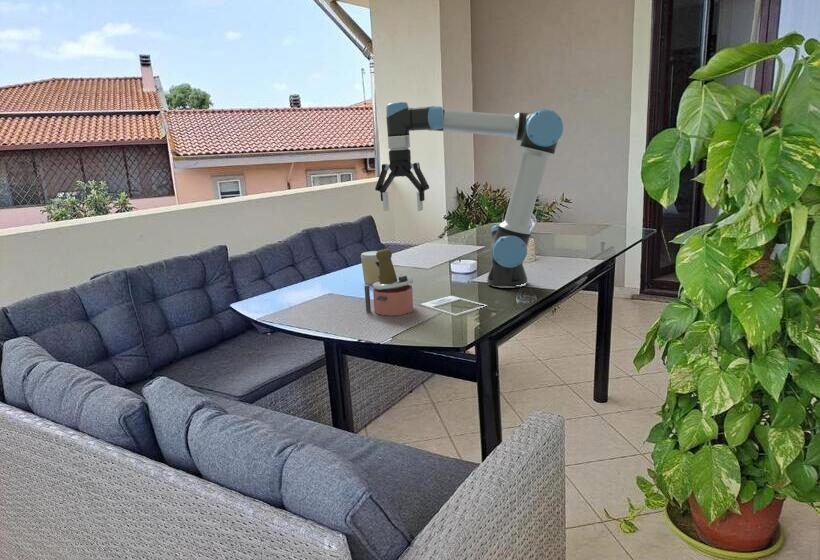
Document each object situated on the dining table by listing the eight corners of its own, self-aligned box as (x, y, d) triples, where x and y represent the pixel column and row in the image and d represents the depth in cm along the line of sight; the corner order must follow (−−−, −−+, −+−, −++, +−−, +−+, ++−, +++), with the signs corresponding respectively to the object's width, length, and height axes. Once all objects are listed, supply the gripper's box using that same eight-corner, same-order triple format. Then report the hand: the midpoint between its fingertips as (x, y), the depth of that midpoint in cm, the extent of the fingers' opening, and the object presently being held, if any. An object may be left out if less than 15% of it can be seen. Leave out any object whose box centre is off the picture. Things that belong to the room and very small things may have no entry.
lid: (420, 278, 194) (419, 271, 193) (400, 288, 182) (399, 281, 182) (386, 280, 200) (384, 273, 200) (365, 290, 189) (364, 283, 188)
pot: (421, 305, 197) (420, 279, 195) (399, 318, 184) (397, 291, 181) (385, 301, 204) (384, 276, 202) (361, 314, 190) (359, 288, 188)
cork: (379, 281, 195) (374, 250, 193) (397, 278, 195) (391, 247, 193) (379, 284, 189) (374, 252, 187) (398, 281, 189) (392, 249, 187)
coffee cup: (382, 285, 227) (380, 255, 224) (359, 285, 229) (357, 255, 226) (387, 279, 236) (386, 250, 233) (366, 279, 238) (364, 250, 235)
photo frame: (451, 295, 206) (487, 304, 192) (451, 298, 206) (487, 307, 192) (419, 303, 197) (455, 314, 183) (420, 306, 197) (455, 317, 184)
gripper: (436, 147, 196) (439, 209, 201) (373, 150, 207) (377, 208, 212) (427, 148, 189) (430, 212, 194) (363, 151, 201) (367, 211, 206)
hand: (403, 210), depth 203 cm, fingers open, 13 cm apart
